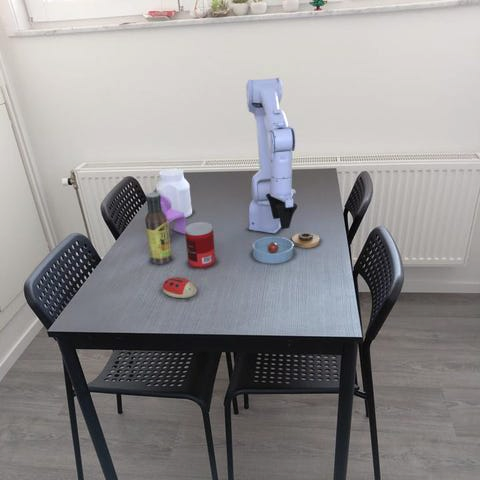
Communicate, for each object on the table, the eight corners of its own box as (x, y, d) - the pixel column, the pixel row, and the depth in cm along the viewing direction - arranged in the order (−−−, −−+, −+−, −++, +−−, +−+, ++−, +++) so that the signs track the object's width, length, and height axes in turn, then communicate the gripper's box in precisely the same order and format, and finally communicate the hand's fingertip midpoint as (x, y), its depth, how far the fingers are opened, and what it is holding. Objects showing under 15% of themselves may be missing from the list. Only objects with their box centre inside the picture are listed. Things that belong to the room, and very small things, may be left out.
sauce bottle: (167, 266, 139) (157, 199, 127) (147, 264, 140) (136, 198, 129) (176, 256, 144) (167, 191, 132) (157, 254, 145) (147, 190, 134)
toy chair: (190, 234, 156) (185, 189, 148) (169, 243, 151) (163, 197, 143) (173, 228, 161) (167, 184, 153) (152, 237, 156) (145, 191, 148)
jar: (157, 218, 169) (150, 176, 161) (163, 208, 177) (158, 167, 169) (189, 218, 168) (184, 176, 159) (194, 208, 176) (190, 167, 167)
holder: (287, 245, 147) (287, 238, 145) (297, 234, 153) (297, 228, 152) (314, 249, 143) (314, 242, 142) (322, 238, 150) (323, 231, 148)
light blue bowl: (246, 259, 140) (245, 250, 138) (262, 243, 149) (262, 234, 147) (284, 266, 135) (284, 256, 134) (299, 249, 144) (299, 240, 142)
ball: (265, 254, 141) (265, 244, 139) (270, 249, 144) (270, 239, 142) (275, 255, 140) (275, 245, 138) (280, 251, 142) (280, 241, 141)
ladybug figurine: (190, 302, 122) (189, 290, 120) (156, 296, 125) (154, 284, 123) (201, 289, 127) (200, 277, 125) (169, 283, 130) (167, 272, 128)
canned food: (219, 258, 141) (216, 223, 135) (209, 270, 135) (206, 234, 129) (195, 255, 144) (192, 220, 138) (184, 267, 137) (180, 231, 131)
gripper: (304, 182, 125) (303, 230, 132) (286, 166, 136) (286, 212, 144) (278, 185, 123) (278, 234, 131) (262, 169, 135) (263, 215, 143)
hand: (281, 223), depth 137 cm, fingers open, 7 cm apart
